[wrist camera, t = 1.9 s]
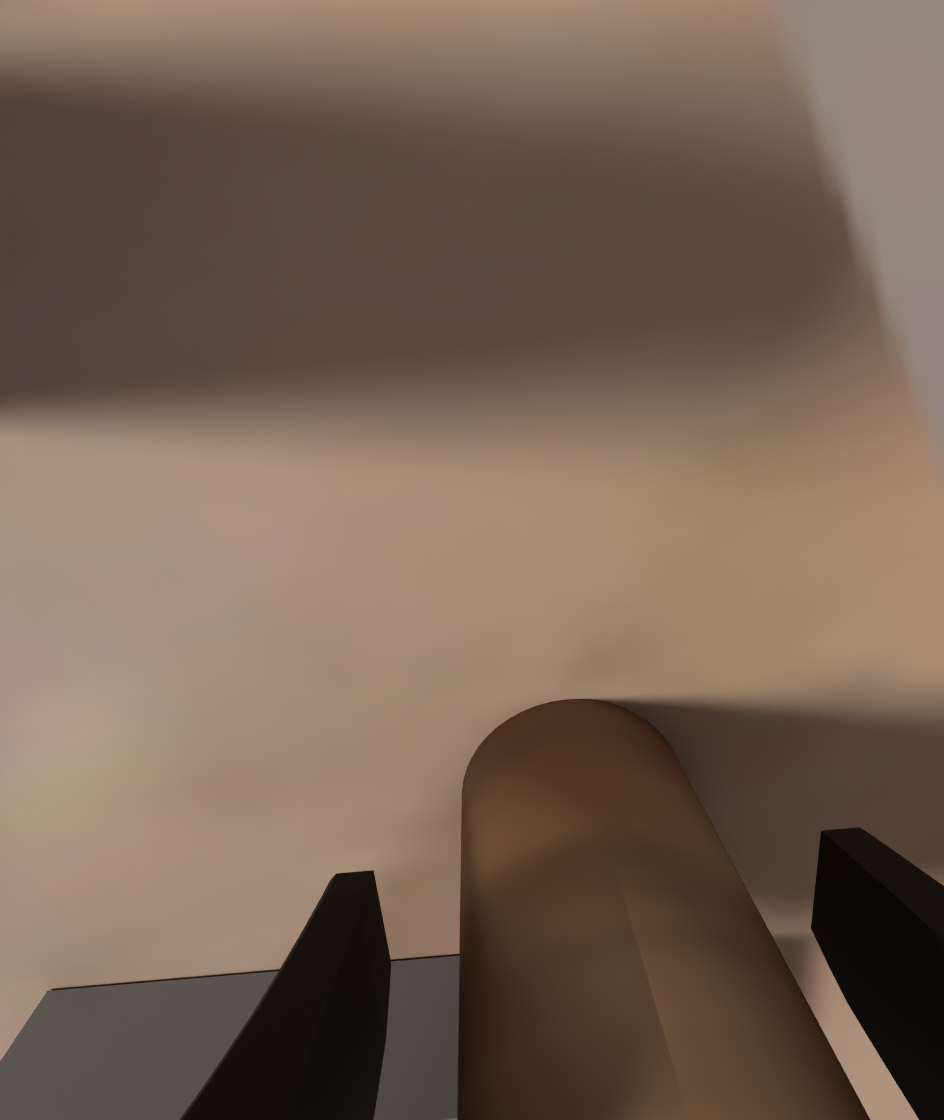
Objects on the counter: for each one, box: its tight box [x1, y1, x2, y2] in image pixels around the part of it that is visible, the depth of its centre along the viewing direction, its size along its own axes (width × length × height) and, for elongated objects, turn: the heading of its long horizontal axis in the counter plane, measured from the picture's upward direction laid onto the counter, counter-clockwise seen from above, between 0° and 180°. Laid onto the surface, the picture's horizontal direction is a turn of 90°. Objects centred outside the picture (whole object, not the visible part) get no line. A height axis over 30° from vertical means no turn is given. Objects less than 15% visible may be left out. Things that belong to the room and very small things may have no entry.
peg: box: [457, 700, 870, 1120], centre depth 9 cm, size 4×4×7 cm
